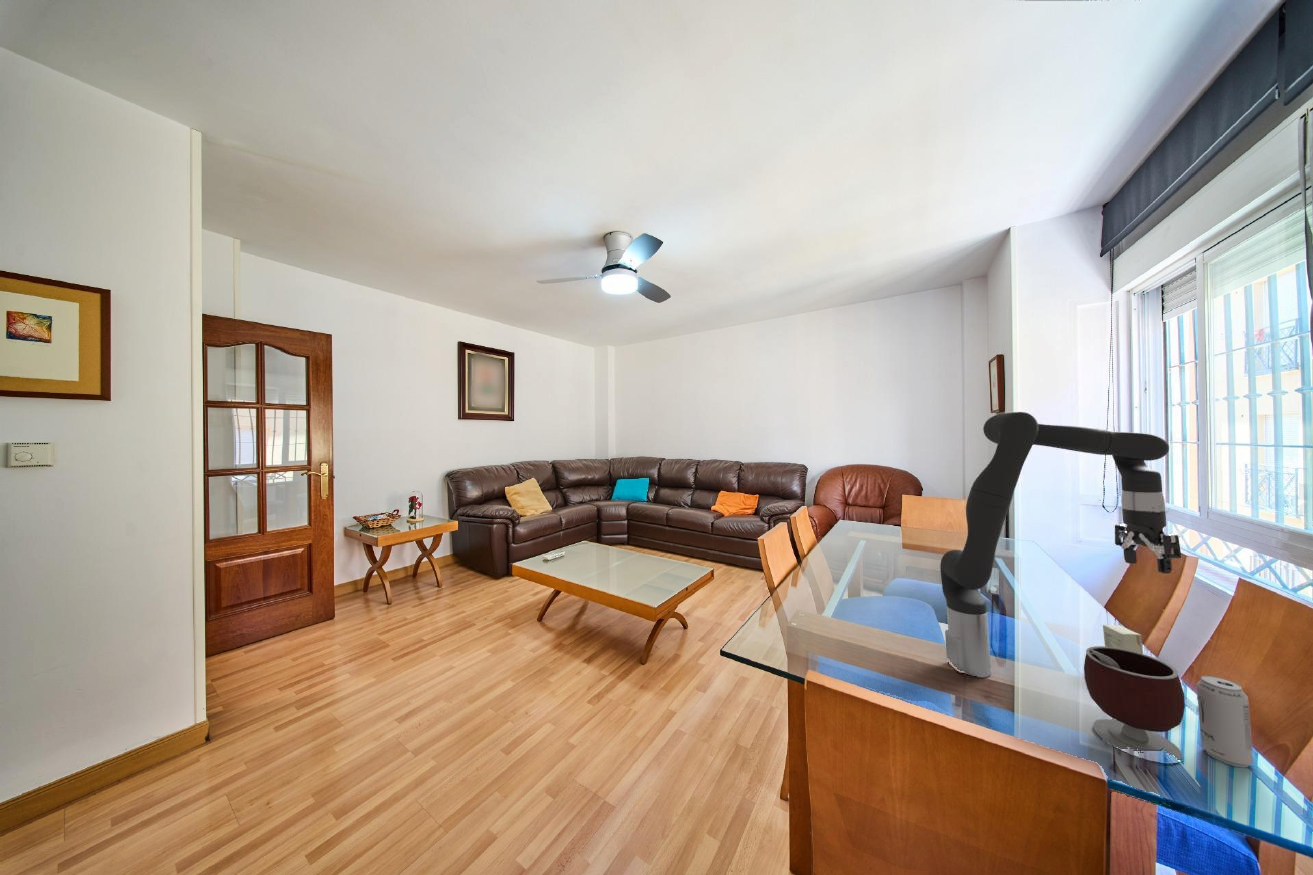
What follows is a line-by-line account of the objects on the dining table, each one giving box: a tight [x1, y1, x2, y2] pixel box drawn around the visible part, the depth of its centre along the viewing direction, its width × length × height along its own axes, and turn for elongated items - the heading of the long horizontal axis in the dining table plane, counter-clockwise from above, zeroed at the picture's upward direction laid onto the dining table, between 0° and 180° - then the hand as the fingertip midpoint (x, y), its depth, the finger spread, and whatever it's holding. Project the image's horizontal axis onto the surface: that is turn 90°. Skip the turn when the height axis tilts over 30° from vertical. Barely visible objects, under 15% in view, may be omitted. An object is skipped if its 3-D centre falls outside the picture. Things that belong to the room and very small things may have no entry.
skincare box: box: [1102, 624, 1144, 654], centre depth 109 cm, size 6×4×12 cm
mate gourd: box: [1083, 645, 1186, 761], centre depth 86 cm, size 16×14×20 cm
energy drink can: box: [1196, 675, 1254, 768], centre depth 81 cm, size 6×6×15 cm
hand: (1147, 567), depth 108 cm, fingers open, 8 cm apart
